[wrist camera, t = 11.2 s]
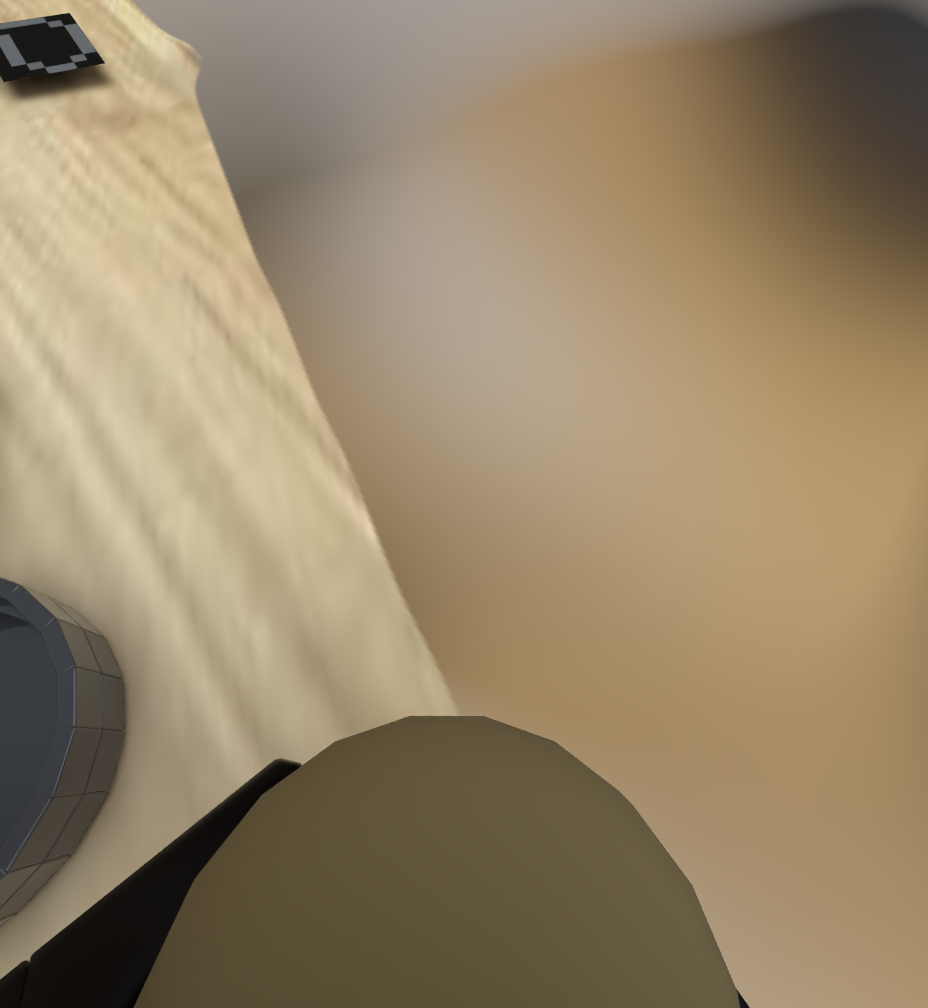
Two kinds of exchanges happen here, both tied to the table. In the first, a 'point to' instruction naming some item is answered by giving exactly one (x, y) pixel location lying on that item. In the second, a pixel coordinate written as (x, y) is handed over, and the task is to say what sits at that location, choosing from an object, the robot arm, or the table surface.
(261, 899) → the cork
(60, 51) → the red board with handle
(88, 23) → the table surface
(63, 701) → the pan
